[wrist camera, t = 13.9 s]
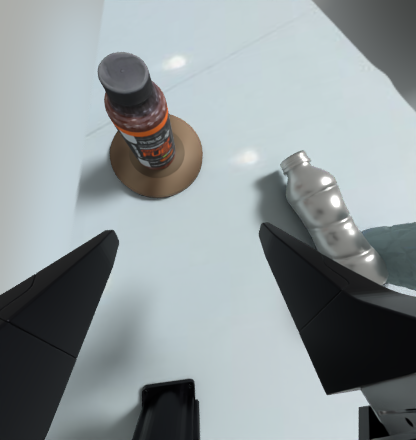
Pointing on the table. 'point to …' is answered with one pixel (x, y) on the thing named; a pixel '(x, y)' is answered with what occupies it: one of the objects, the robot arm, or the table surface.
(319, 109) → the table surface
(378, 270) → the plastic bottle
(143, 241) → the table surface
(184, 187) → the disc
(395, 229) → the grey-green cup
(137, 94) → the supplement bottle
